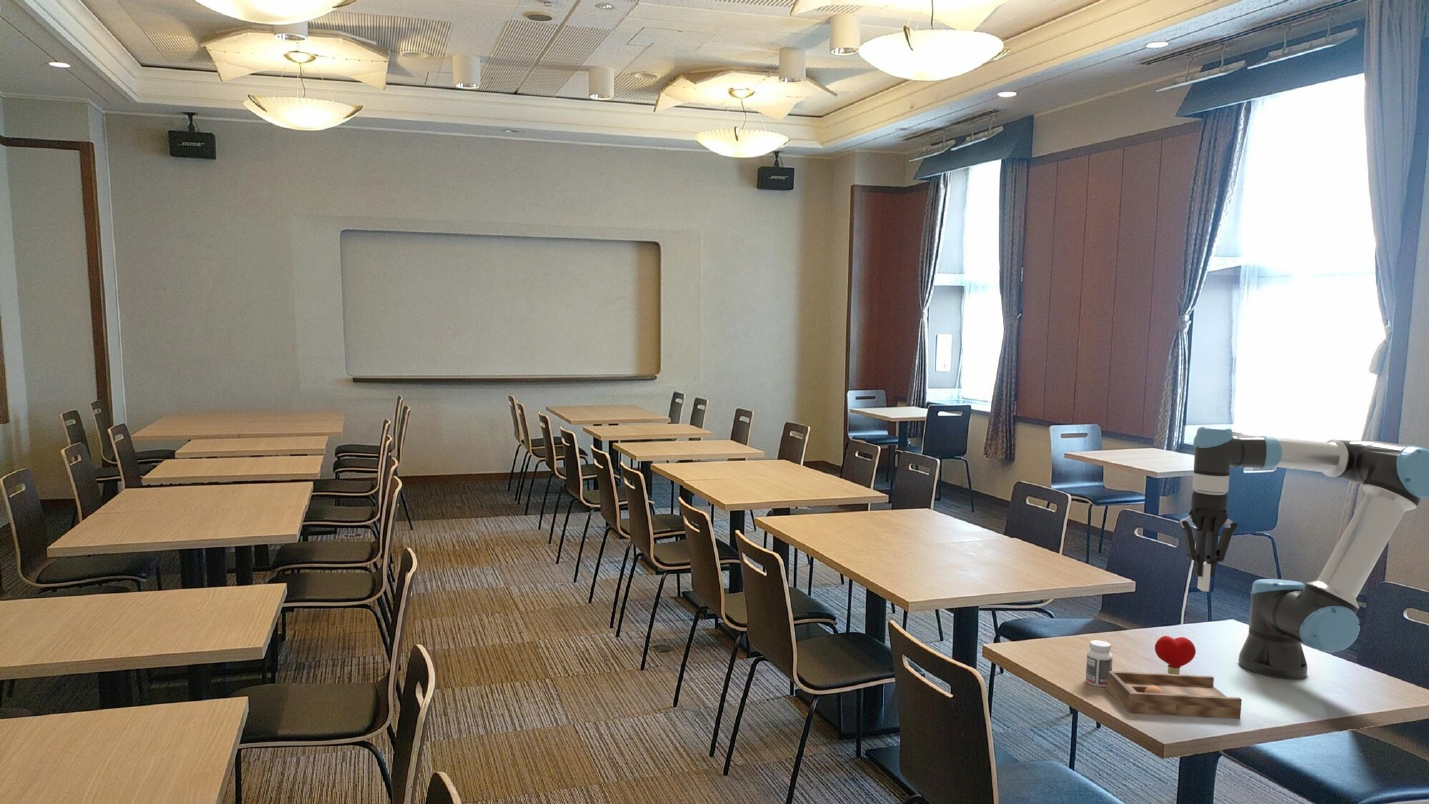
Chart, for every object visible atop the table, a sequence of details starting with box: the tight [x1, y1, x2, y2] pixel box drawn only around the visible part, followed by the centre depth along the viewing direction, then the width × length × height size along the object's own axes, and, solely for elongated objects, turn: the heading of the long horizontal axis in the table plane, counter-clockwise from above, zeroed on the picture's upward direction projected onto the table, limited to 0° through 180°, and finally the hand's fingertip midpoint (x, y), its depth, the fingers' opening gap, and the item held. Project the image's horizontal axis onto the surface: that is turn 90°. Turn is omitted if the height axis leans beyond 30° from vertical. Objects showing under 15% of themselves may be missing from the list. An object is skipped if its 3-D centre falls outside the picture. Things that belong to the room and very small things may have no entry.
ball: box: [1145, 686, 1163, 694], centre depth 213 cm, size 4×4×4 cm
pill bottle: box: [1085, 639, 1113, 688], centre depth 224 cm, size 6×6×10 cm
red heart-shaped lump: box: [1154, 635, 1197, 675], centre depth 230 cm, size 9×7×10 cm
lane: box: [1106, 670, 1242, 720], centre depth 213 cm, size 24×14×4 cm, turn 86°
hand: (1203, 589), depth 220 cm, fingers closed
